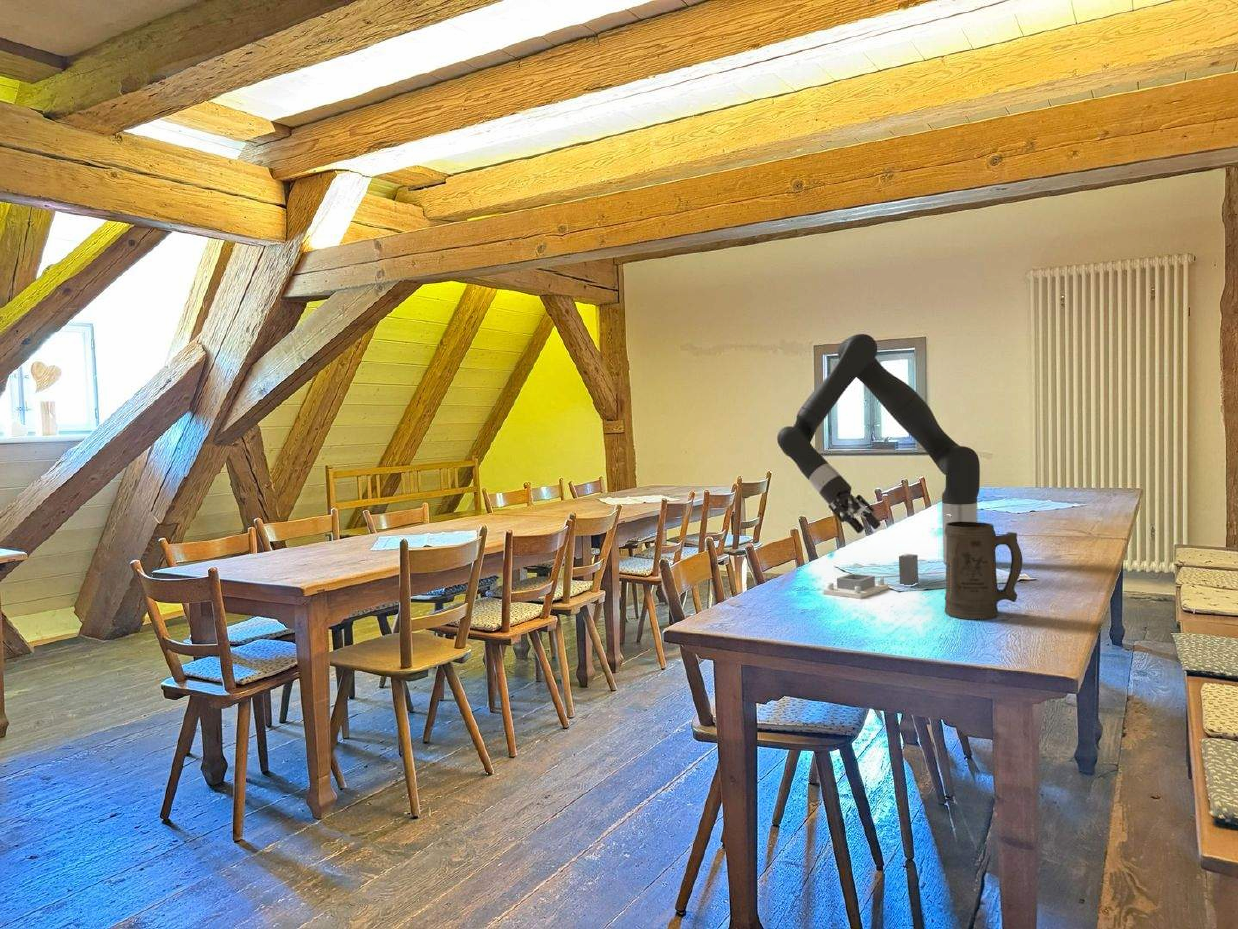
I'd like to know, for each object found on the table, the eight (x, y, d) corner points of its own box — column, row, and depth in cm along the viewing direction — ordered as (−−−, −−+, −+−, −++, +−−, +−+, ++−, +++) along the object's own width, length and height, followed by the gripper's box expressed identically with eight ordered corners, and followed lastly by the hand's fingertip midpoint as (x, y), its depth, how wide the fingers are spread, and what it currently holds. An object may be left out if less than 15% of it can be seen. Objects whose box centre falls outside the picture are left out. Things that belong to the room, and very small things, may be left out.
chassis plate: (852, 584, 217) (852, 570, 217) (888, 588, 210) (888, 574, 210) (823, 593, 207) (822, 579, 207) (860, 598, 200) (859, 584, 200)
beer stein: (944, 619, 177) (949, 525, 176) (937, 607, 188) (942, 518, 186) (1023, 625, 174) (1028, 529, 172) (1012, 612, 184) (1017, 522, 183)
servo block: (907, 583, 215) (906, 552, 215) (918, 584, 213) (917, 553, 213) (899, 585, 212) (898, 554, 212) (911, 587, 210) (910, 555, 210)
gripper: (824, 476, 220) (865, 522, 212) (851, 472, 230) (892, 516, 222) (807, 496, 224) (847, 542, 216) (835, 491, 234) (874, 534, 226)
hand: (870, 529), depth 219 cm, fingers open, 8 cm apart
